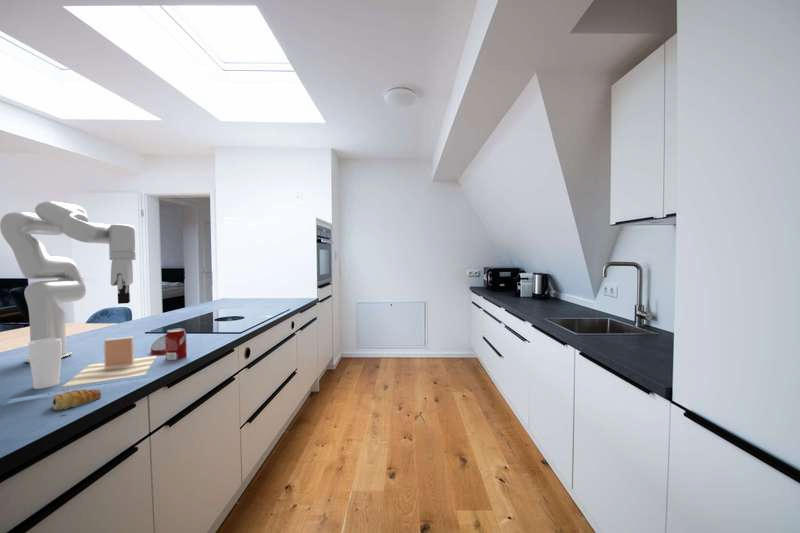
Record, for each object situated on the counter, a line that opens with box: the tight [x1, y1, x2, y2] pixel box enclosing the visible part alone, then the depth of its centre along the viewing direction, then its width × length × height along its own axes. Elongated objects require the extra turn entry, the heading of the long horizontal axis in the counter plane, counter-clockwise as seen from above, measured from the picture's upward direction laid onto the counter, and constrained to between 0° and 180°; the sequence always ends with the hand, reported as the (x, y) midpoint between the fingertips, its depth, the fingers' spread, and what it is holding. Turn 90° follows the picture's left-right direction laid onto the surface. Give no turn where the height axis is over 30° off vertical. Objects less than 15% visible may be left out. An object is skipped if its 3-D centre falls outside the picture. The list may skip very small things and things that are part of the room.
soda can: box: [164, 327, 188, 361], centre depth 122 cm, size 7×7×12 cm
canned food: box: [150, 334, 166, 356], centre depth 131 cm, size 11×10×10 cm
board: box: [61, 355, 158, 391], centre depth 109 cm, size 24×20×1 cm
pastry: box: [52, 388, 102, 411], centre depth 86 cm, size 9×7×4 cm
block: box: [103, 335, 135, 368], centre depth 113 cm, size 2×8×10 cm, turn 121°
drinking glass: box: [28, 338, 62, 390], centre depth 95 cm, size 7×7×15 cm
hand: (124, 303), depth 120 cm, fingers closed
